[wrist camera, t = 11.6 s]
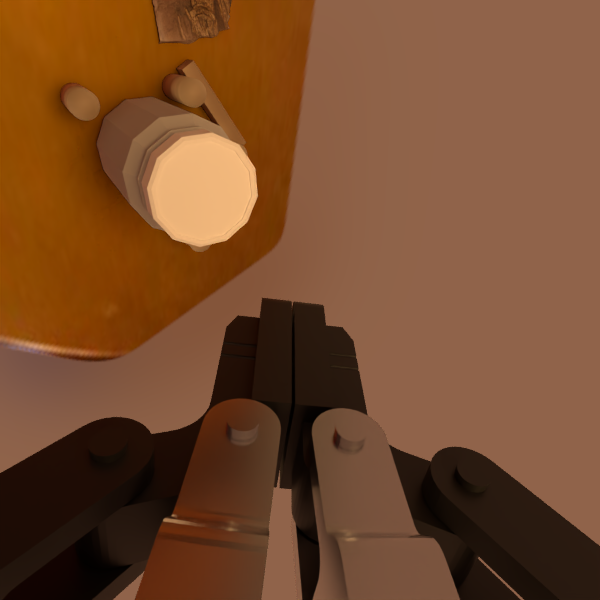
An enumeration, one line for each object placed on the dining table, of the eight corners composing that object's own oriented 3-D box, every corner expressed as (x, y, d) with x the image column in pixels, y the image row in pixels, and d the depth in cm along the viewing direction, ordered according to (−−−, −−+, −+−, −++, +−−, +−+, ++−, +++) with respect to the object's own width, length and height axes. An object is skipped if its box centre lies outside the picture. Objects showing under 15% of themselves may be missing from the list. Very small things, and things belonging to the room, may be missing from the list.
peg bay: (181, 237, 54) (198, 256, 49) (53, 93, 42) (60, 101, 37) (259, 171, 55) (283, 184, 50) (156, 13, 43) (175, 11, 39)
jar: (159, 211, 51) (219, 277, 38) (74, 158, 45) (108, 213, 31) (210, 137, 50) (290, 176, 37) (131, 71, 44) (191, 89, 30)
